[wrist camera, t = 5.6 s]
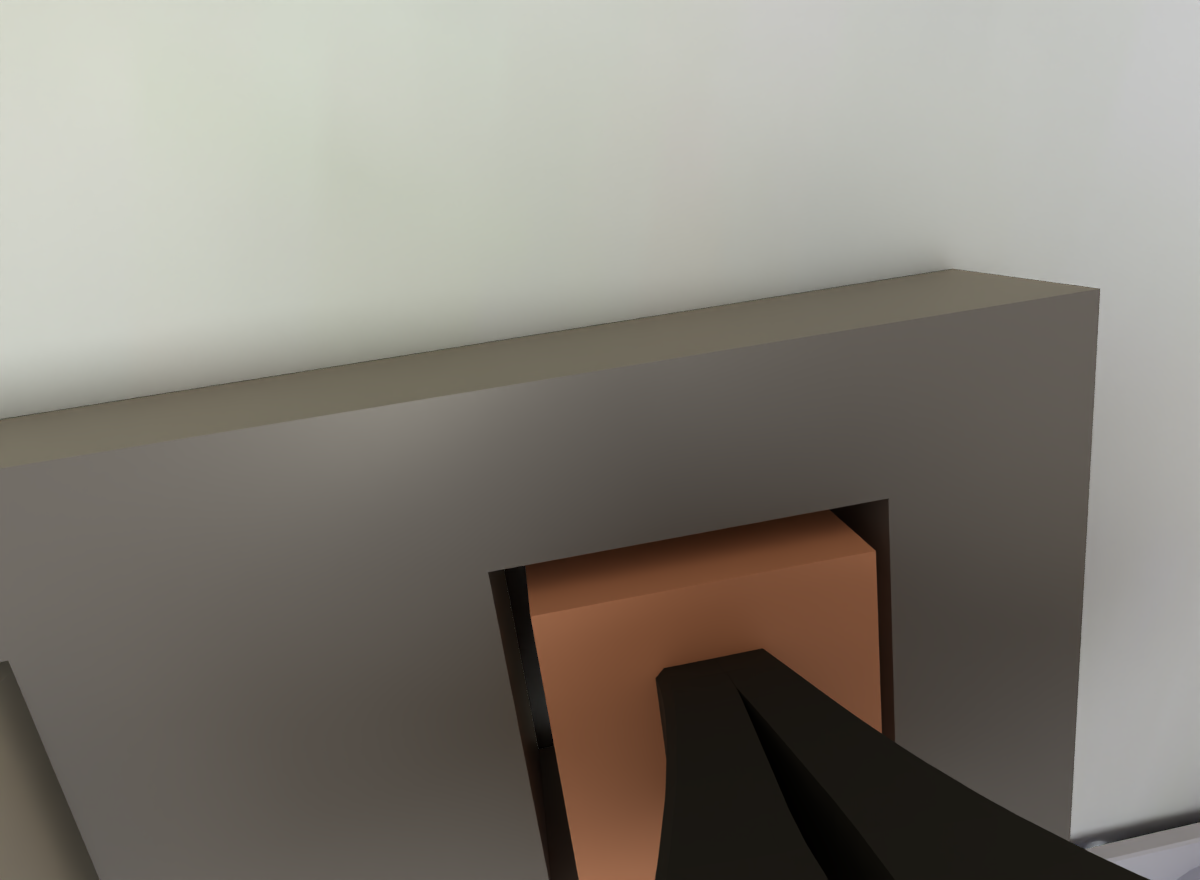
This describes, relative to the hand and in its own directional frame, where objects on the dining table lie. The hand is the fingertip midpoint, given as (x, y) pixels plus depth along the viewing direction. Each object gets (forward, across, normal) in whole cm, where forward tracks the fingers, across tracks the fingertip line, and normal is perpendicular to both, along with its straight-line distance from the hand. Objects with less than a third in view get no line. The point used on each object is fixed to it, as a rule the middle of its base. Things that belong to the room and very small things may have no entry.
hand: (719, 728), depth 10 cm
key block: (+3, +5, 0) cm, 6 cm away
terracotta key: (+3, 0, 0) cm, 3 cm away
